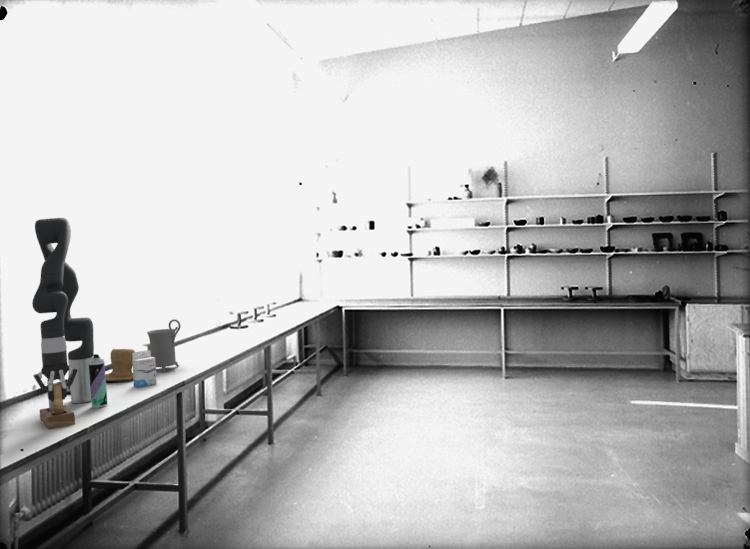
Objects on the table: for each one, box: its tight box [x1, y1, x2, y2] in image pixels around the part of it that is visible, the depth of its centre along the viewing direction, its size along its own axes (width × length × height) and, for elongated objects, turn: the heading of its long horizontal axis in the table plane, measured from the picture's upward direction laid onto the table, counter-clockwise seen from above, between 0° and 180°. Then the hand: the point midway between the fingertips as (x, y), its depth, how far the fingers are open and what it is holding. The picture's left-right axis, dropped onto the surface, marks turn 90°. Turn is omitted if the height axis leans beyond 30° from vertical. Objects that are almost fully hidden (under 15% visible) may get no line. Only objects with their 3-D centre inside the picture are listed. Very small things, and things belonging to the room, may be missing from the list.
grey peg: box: [48, 399, 54, 411], centre depth 209 cm, size 3×3×10 cm
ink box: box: [132, 349, 158, 388], centre depth 261 cm, size 9×5×15 cm, turn 133°
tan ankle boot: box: [105, 348, 136, 383], centre depth 273 cm, size 15×12×15 cm
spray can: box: [89, 353, 108, 409], centre depth 226 cm, size 6×6×20 cm
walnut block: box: [39, 404, 76, 430], centre depth 206 cm, size 15×8×4 cm, turn 39°
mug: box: [146, 318, 182, 373], centre depth 294 cm, size 19×15×25 cm
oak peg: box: [52, 382, 64, 414], centre depth 203 cm, size 3×3×10 cm
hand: (57, 400), depth 203 cm, fingers closed on oak peg, 3 cm apart
